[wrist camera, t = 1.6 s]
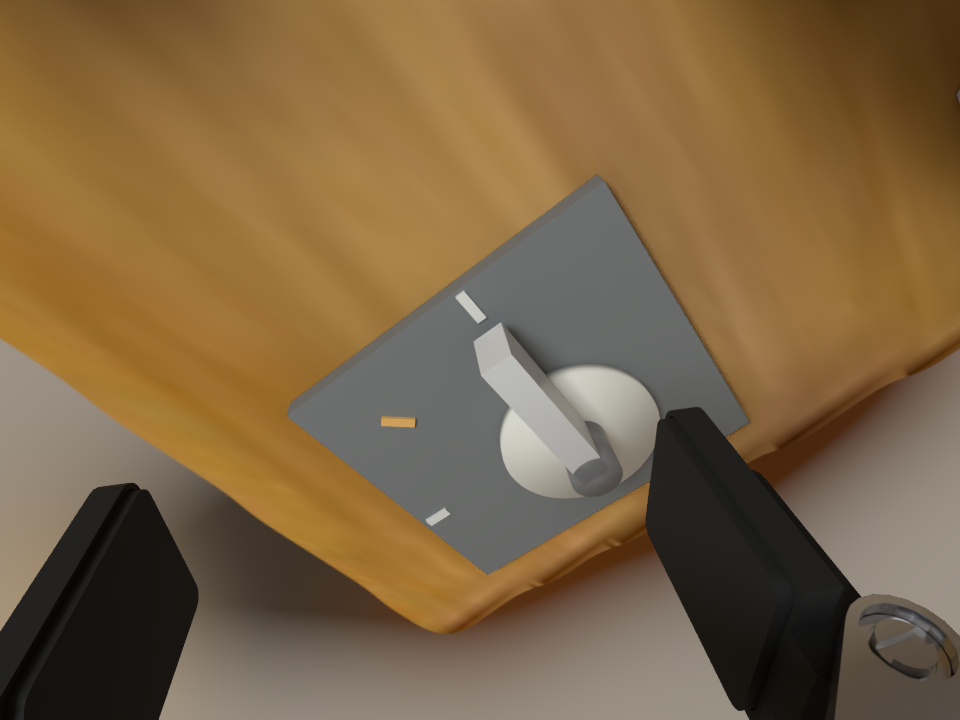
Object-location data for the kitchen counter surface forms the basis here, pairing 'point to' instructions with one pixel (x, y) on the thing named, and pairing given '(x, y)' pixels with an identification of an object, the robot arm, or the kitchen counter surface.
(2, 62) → the kitchen counter surface
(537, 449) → the dial
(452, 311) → the dial board
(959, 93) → the coffee box
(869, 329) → the kitchen counter surface
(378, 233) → the kitchen counter surface
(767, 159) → the kitchen counter surface
